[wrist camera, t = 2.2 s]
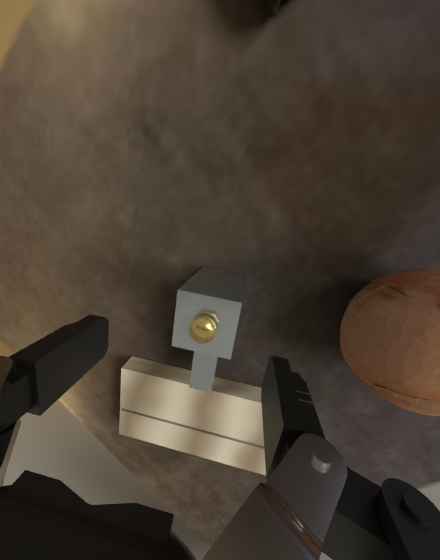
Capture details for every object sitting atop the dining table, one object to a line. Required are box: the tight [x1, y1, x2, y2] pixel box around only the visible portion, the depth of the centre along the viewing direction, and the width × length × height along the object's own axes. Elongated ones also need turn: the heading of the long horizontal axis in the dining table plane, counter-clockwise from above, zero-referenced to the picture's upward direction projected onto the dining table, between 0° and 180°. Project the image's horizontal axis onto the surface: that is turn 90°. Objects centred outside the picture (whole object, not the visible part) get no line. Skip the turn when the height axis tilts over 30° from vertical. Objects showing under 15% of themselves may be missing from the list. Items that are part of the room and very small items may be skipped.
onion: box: [340, 269, 440, 416], centre depth 14 cm, size 10×9×10 cm
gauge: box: [172, 267, 246, 393], centre depth 17 cm, size 4×10×8 cm, turn 171°
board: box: [119, 356, 266, 475], centre depth 23 cm, size 19×9×2 cm, turn 81°
